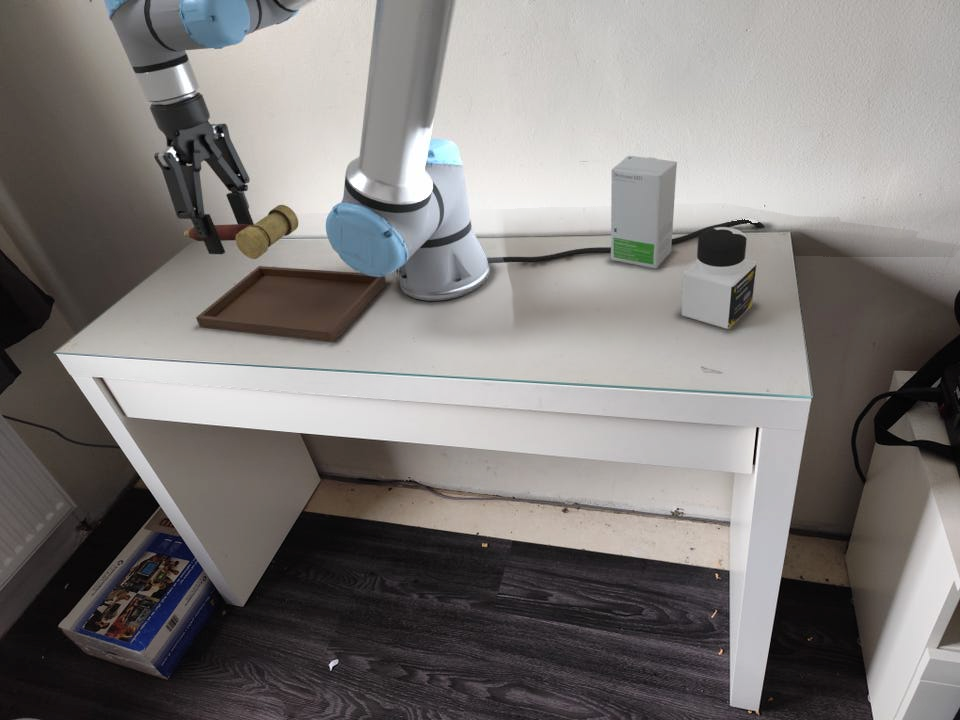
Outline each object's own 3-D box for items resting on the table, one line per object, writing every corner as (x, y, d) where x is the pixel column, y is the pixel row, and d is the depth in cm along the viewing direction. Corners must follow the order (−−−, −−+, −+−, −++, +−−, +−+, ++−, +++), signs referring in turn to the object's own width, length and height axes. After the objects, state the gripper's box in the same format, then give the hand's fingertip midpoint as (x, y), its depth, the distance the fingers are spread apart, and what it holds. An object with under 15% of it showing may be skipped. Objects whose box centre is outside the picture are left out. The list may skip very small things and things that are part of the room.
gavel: (157, 234, 109) (199, 208, 116) (170, 260, 111) (211, 232, 118) (252, 231, 99) (292, 203, 106) (264, 259, 102) (303, 230, 109)
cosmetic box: (610, 261, 110) (607, 169, 101) (627, 243, 114) (626, 154, 105) (658, 269, 106) (660, 175, 97) (674, 251, 110) (677, 158, 101)
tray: (386, 284, 115) (384, 274, 114) (333, 342, 102) (330, 332, 101) (262, 274, 125) (259, 265, 123) (199, 327, 112) (195, 317, 111)
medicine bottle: (728, 330, 90) (736, 251, 83) (680, 316, 95) (683, 239, 88) (752, 306, 94) (761, 227, 87) (705, 293, 98) (710, 217, 91)
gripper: (201, 79, 105) (252, 214, 118) (102, 121, 90) (173, 270, 104) (238, 75, 102) (286, 215, 115) (142, 119, 88) (210, 272, 101)
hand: (233, 241), depth 109 cm, fingers closed on gavel, 7 cm apart
